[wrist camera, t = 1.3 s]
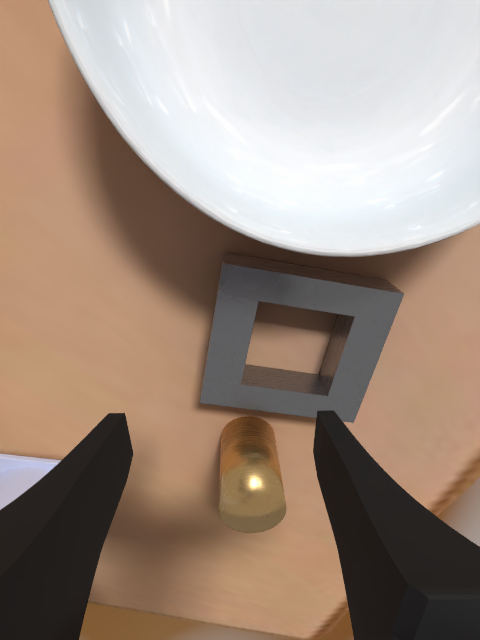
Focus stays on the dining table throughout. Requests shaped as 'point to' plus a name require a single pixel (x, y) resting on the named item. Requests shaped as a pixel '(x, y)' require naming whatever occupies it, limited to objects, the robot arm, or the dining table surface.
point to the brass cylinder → (250, 476)
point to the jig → (303, 292)
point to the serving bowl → (297, 112)
